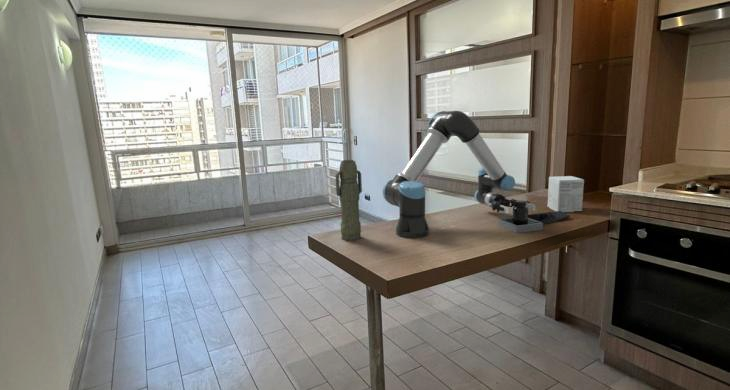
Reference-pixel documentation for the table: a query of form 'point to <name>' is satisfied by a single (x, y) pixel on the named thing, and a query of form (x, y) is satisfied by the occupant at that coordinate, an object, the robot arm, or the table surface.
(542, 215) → the dark slate chunk
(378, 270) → the table surface
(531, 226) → the tray
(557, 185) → the supplement box
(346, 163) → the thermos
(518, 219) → the supplement bottle
